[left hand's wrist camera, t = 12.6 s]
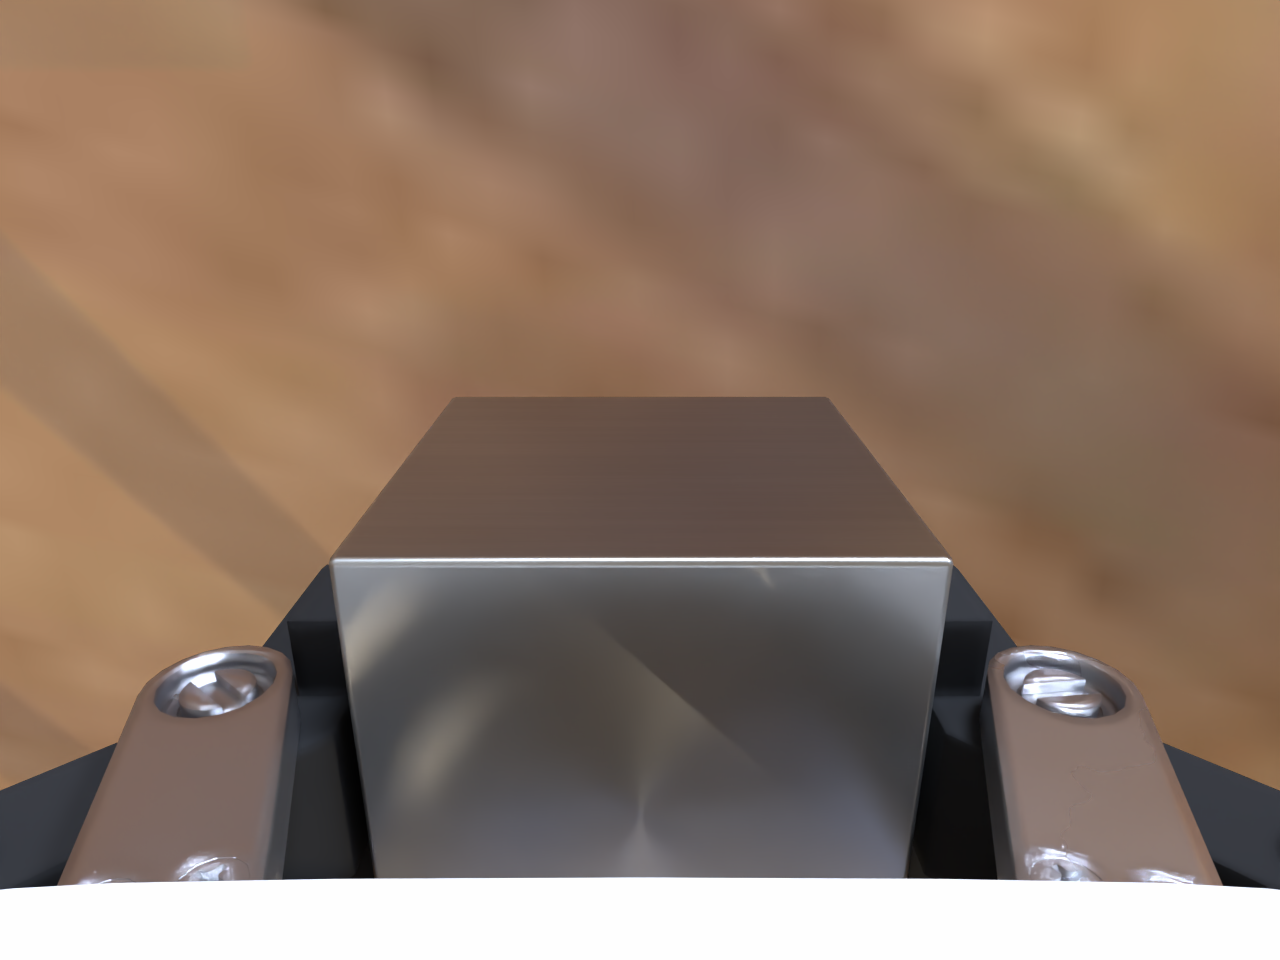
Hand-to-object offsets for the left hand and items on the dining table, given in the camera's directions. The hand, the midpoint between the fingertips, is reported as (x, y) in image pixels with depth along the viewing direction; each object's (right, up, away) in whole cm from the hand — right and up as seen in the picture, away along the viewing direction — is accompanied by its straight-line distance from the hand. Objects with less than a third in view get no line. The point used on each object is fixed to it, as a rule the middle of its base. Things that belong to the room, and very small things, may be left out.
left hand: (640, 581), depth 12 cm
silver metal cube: (0, 0, 0) cm, 0 cm away
